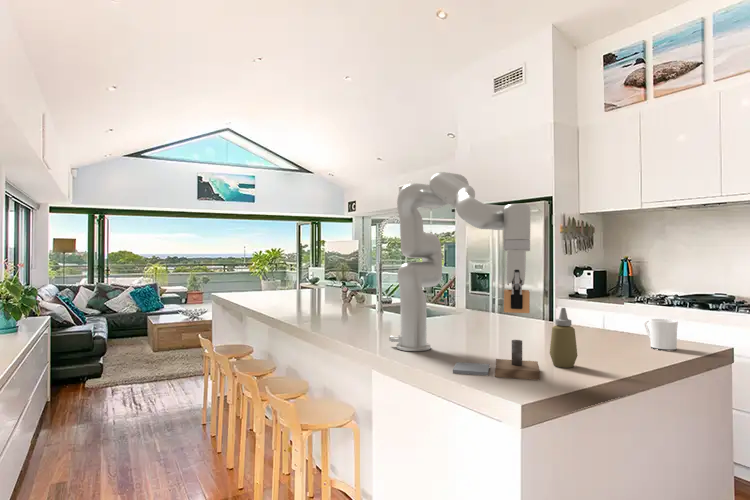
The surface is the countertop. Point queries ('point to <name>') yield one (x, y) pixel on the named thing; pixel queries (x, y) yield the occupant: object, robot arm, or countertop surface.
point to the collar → (508, 302)
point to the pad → (471, 368)
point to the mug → (662, 333)
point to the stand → (517, 365)
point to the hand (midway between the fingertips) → (516, 306)
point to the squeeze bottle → (563, 342)
